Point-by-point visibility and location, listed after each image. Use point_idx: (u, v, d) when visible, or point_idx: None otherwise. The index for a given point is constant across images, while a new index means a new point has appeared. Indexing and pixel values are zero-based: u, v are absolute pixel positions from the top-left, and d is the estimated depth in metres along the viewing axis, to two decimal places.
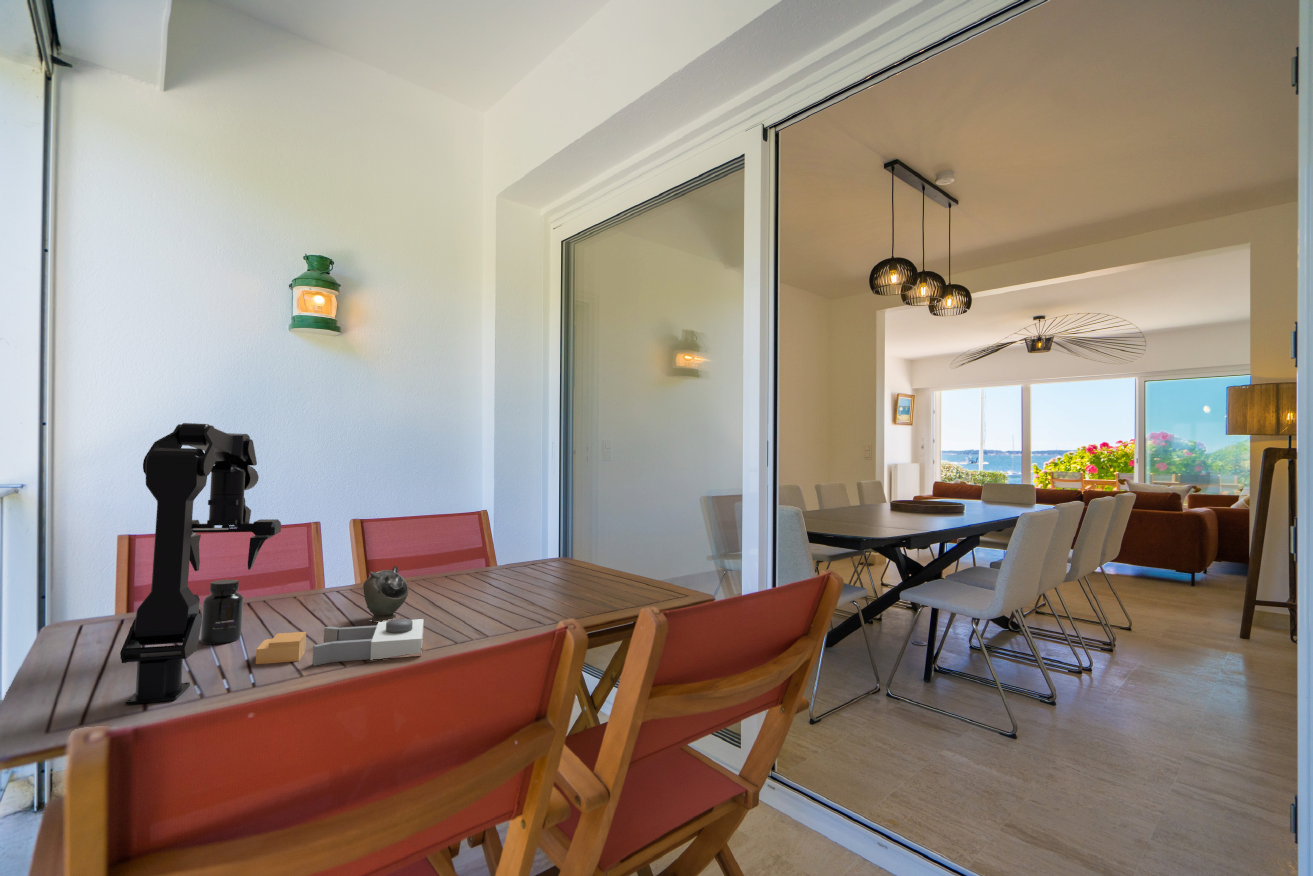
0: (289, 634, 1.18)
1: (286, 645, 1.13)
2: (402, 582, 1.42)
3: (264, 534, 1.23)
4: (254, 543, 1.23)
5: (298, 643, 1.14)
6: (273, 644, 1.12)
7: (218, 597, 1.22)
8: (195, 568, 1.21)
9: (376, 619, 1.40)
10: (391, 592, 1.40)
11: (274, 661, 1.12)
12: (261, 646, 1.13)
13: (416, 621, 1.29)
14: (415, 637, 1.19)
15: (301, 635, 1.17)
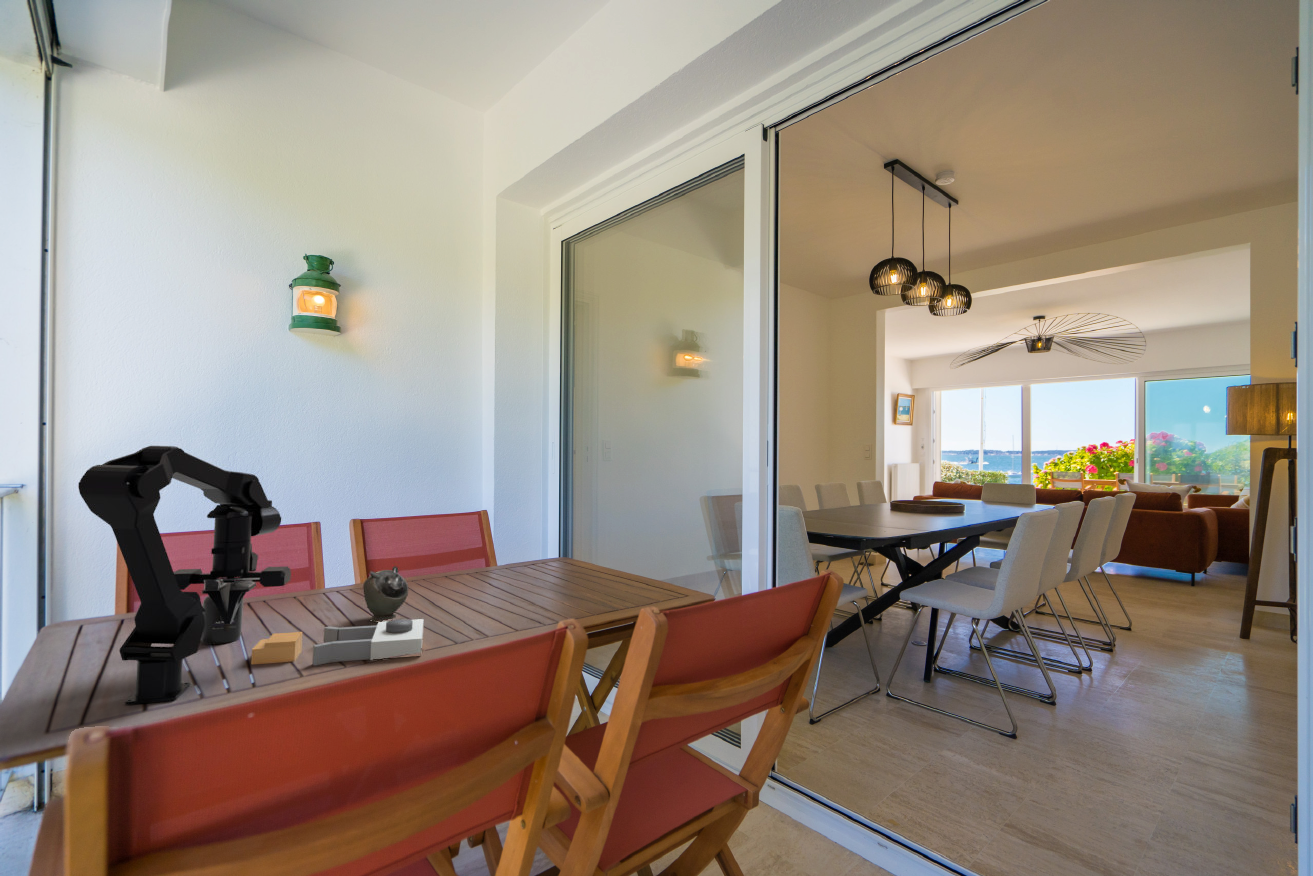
0: (285, 634, 1.17)
1: (282, 645, 1.13)
2: (402, 582, 1.42)
3: (273, 585, 1.12)
4: (234, 595, 1.11)
5: (294, 643, 1.14)
6: (269, 644, 1.12)
7: None
8: (225, 622, 1.12)
9: (376, 619, 1.40)
10: (391, 592, 1.40)
11: (270, 661, 1.12)
12: (257, 646, 1.13)
13: (416, 621, 1.29)
14: (415, 637, 1.19)
15: (297, 635, 1.17)
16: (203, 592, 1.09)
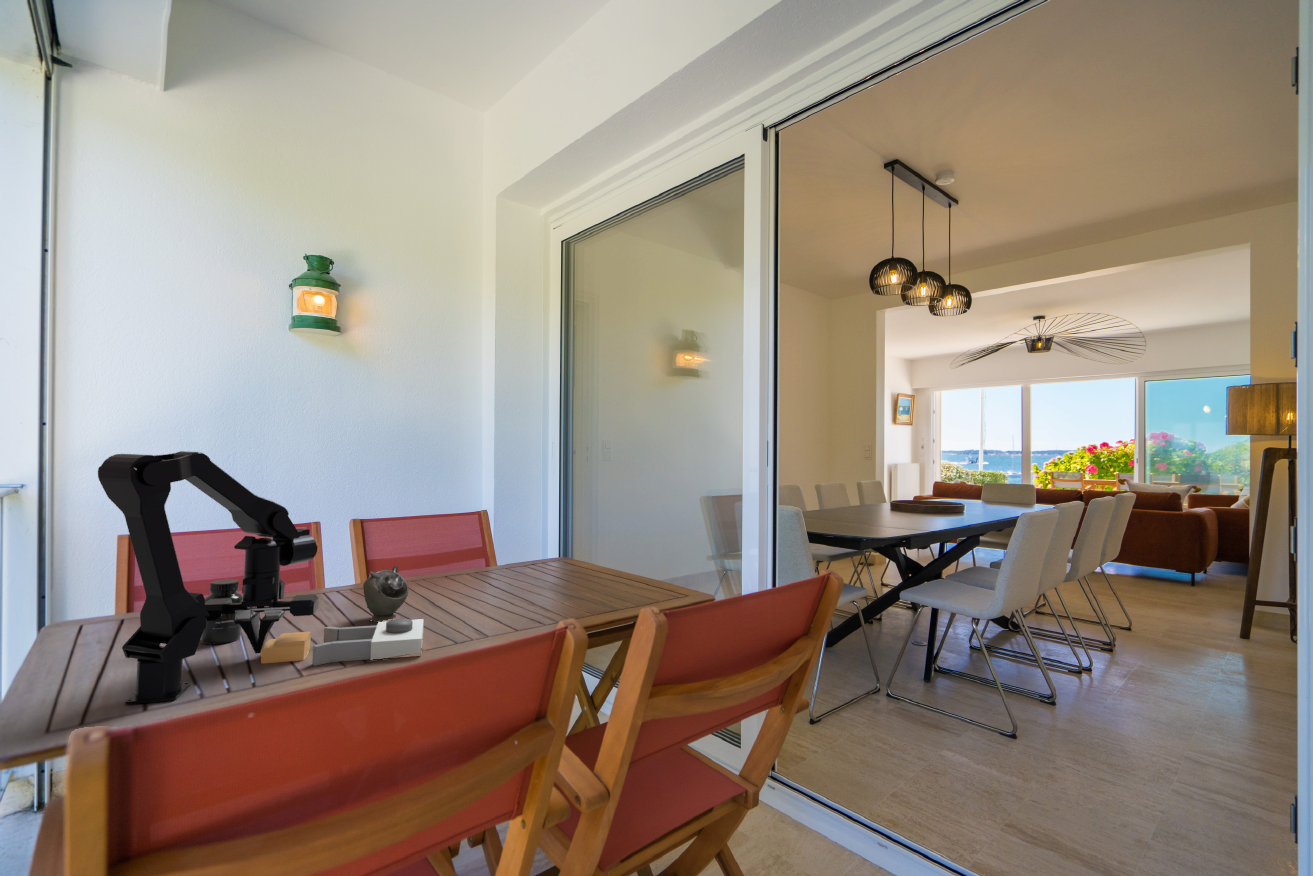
0: (293, 633, 1.18)
1: (291, 645, 1.13)
2: (402, 582, 1.42)
3: (302, 614, 1.14)
4: (265, 625, 1.12)
5: (303, 643, 1.14)
6: (278, 644, 1.13)
7: (218, 597, 1.22)
8: (256, 650, 1.13)
9: (376, 619, 1.40)
10: (391, 592, 1.40)
11: (279, 661, 1.13)
12: (266, 646, 1.13)
13: (416, 621, 1.29)
14: (415, 637, 1.19)
15: (306, 635, 1.17)
16: (235, 622, 1.10)
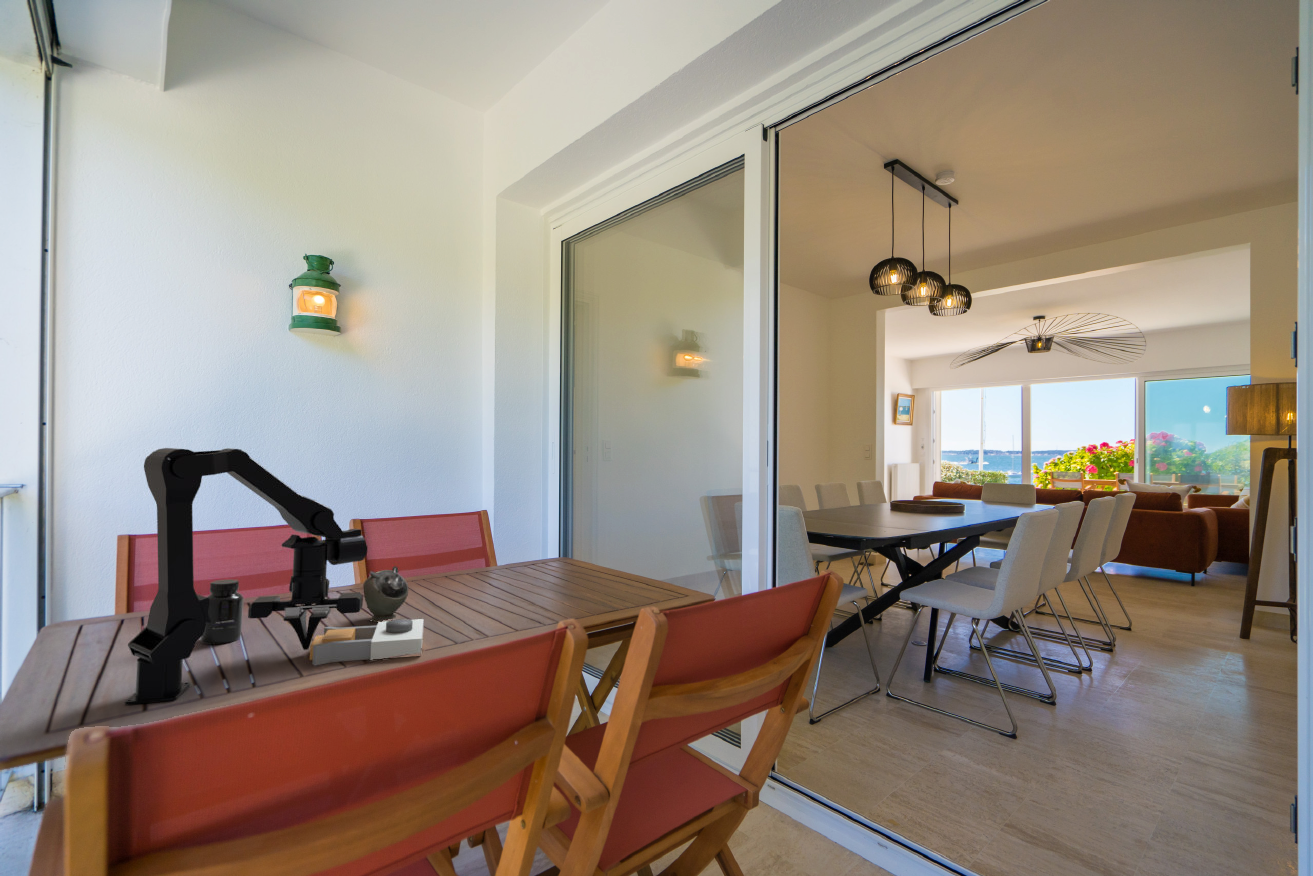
0: (339, 630, 1.21)
1: None
2: (402, 582, 1.42)
3: (349, 611, 1.17)
4: (313, 622, 1.15)
5: (350, 639, 1.17)
6: (326, 640, 1.15)
7: (218, 597, 1.22)
8: (304, 647, 1.16)
9: (376, 619, 1.40)
10: (391, 592, 1.40)
11: None
12: (314, 642, 1.16)
13: (416, 621, 1.29)
14: (415, 637, 1.19)
15: (351, 631, 1.20)
16: (285, 619, 1.13)
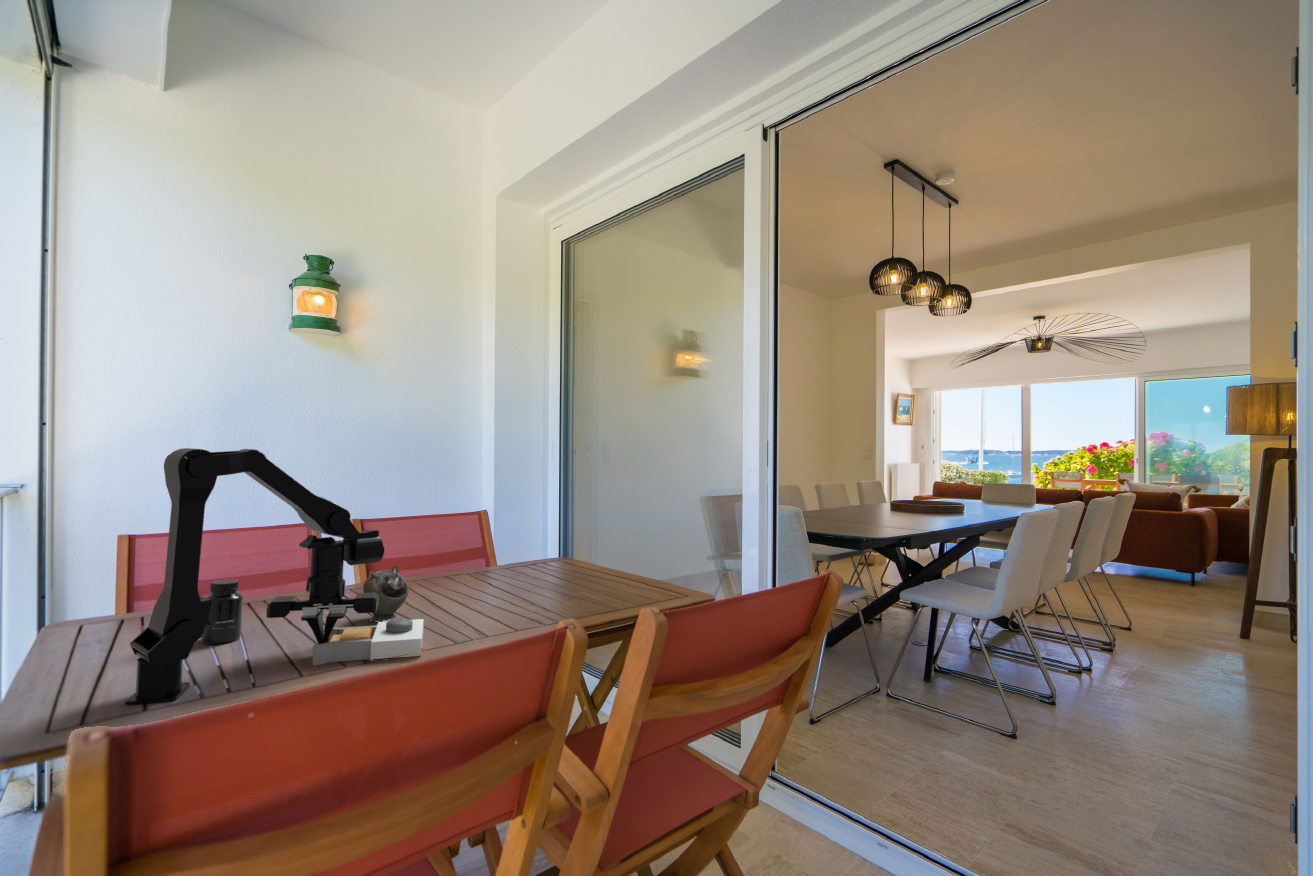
0: (356, 629, 1.22)
1: None
2: (402, 582, 1.42)
3: (366, 611, 1.18)
4: (330, 622, 1.16)
5: (367, 638, 1.18)
6: (343, 639, 1.16)
7: (218, 597, 1.22)
8: None
9: (376, 619, 1.40)
10: (391, 592, 1.40)
11: None
12: (332, 641, 1.17)
13: (416, 621, 1.29)
14: (415, 637, 1.19)
15: (368, 631, 1.21)
16: (302, 619, 1.14)
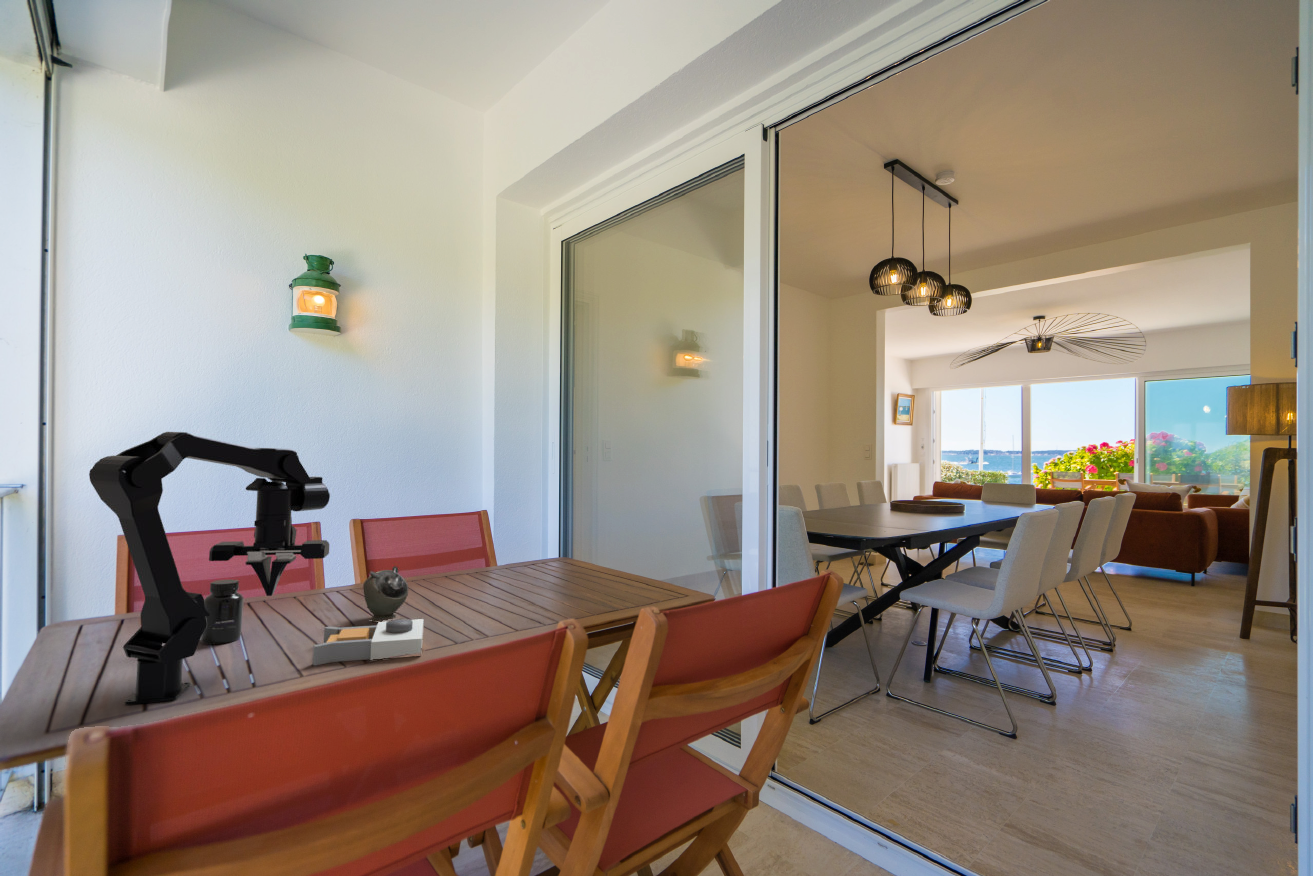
0: (353, 629, 1.22)
1: None
2: (402, 582, 1.42)
3: (313, 557, 1.15)
4: (276, 567, 1.13)
5: (364, 638, 1.18)
6: (341, 639, 1.16)
7: (218, 597, 1.22)
8: (267, 593, 1.14)
9: (376, 619, 1.40)
10: (391, 592, 1.40)
11: None
12: (329, 641, 1.17)
13: (416, 621, 1.29)
14: (415, 637, 1.19)
15: (365, 631, 1.21)
16: (246, 563, 1.11)
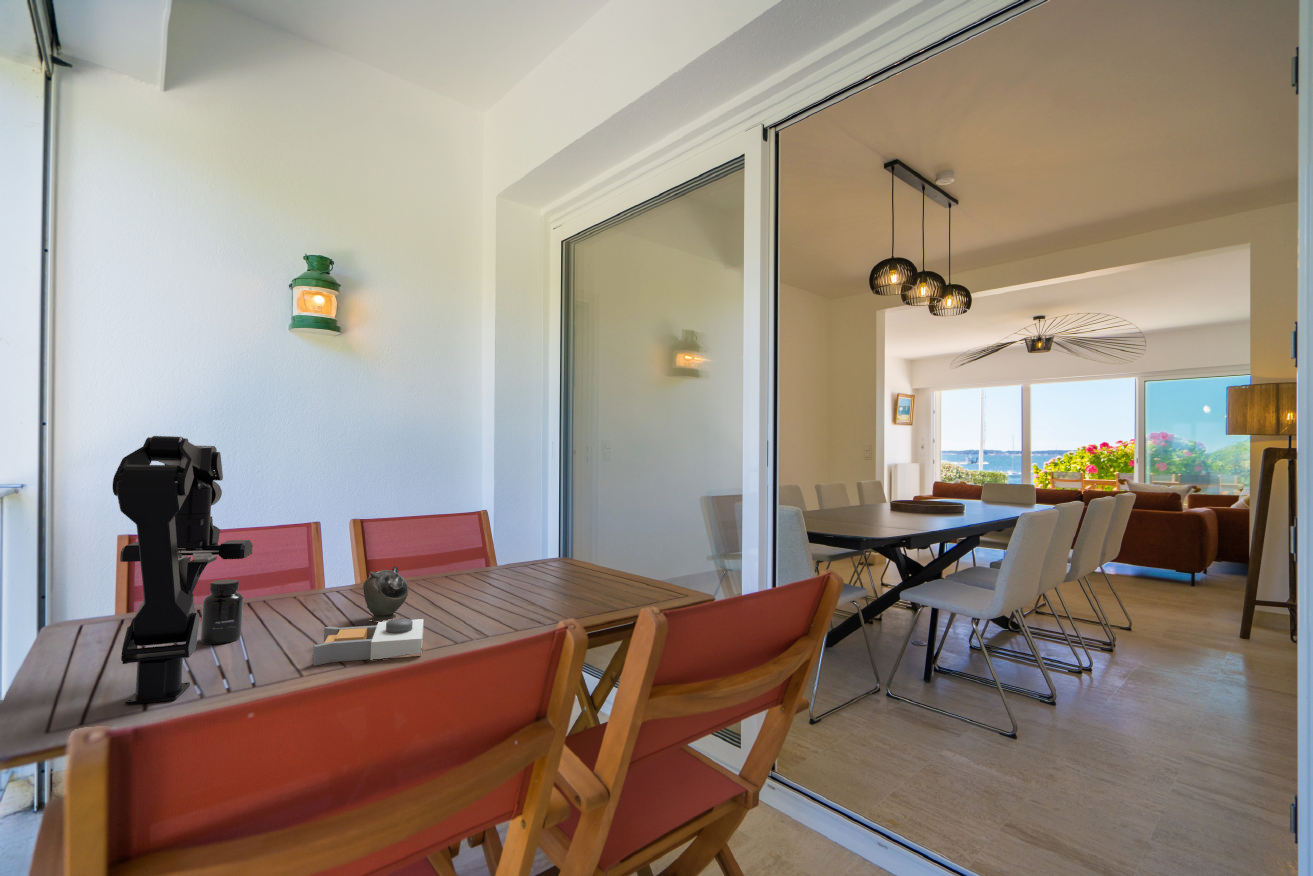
0: (351, 630, 1.21)
1: None
2: (402, 582, 1.42)
3: (232, 557, 1.11)
4: (193, 568, 1.09)
5: (362, 639, 1.17)
6: (339, 640, 1.16)
7: (218, 597, 1.22)
8: None
9: (376, 619, 1.40)
10: (391, 592, 1.40)
11: None
12: None
13: (416, 621, 1.29)
14: (415, 637, 1.19)
15: (363, 631, 1.21)
16: None
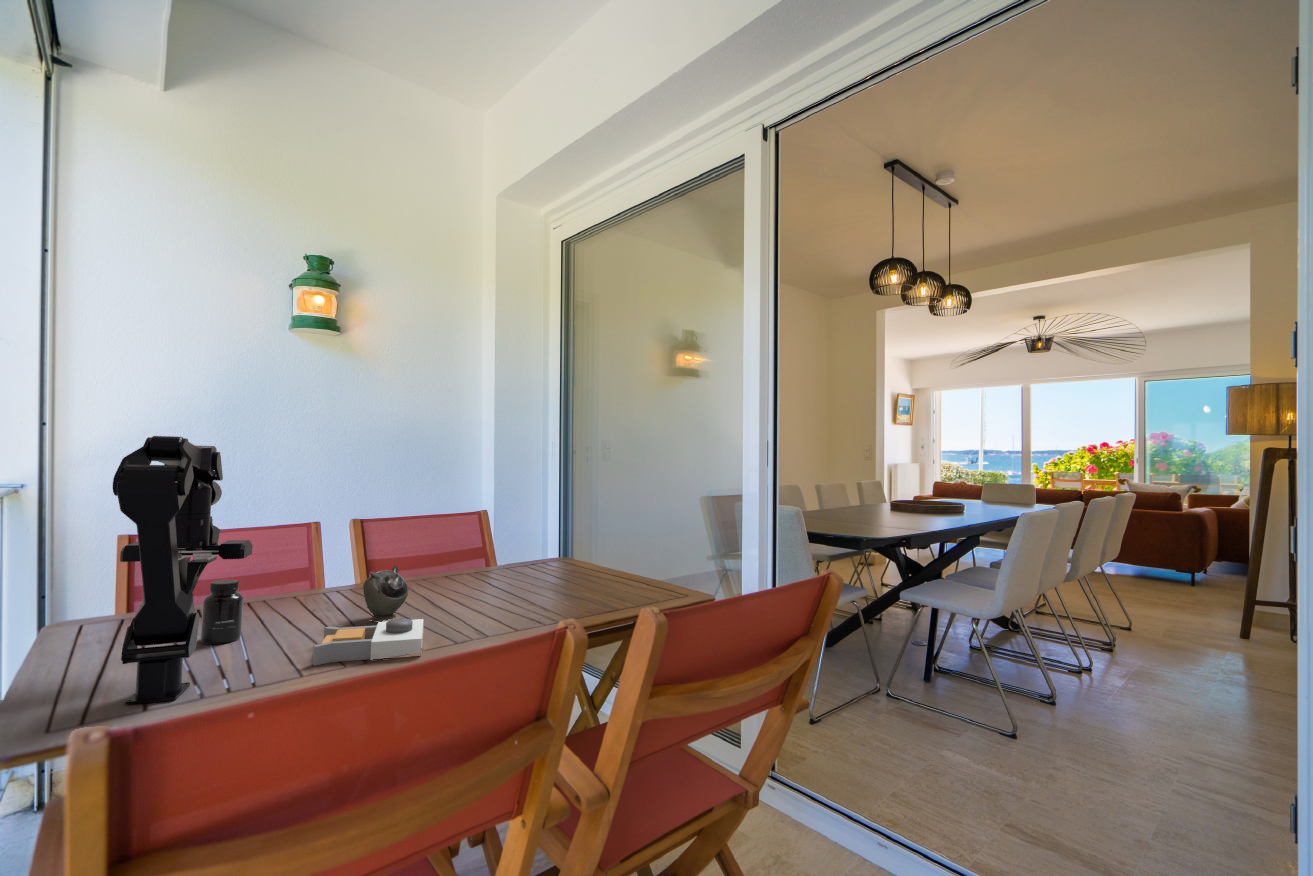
0: (349, 630, 1.21)
1: None
2: (402, 582, 1.42)
3: (232, 557, 1.11)
4: (193, 568, 1.09)
5: (360, 639, 1.17)
6: (337, 640, 1.16)
7: (218, 597, 1.22)
8: None
9: (376, 619, 1.40)
10: (391, 592, 1.40)
11: None
12: (325, 642, 1.17)
13: (416, 621, 1.29)
14: (415, 637, 1.19)
15: (361, 631, 1.21)
16: None
